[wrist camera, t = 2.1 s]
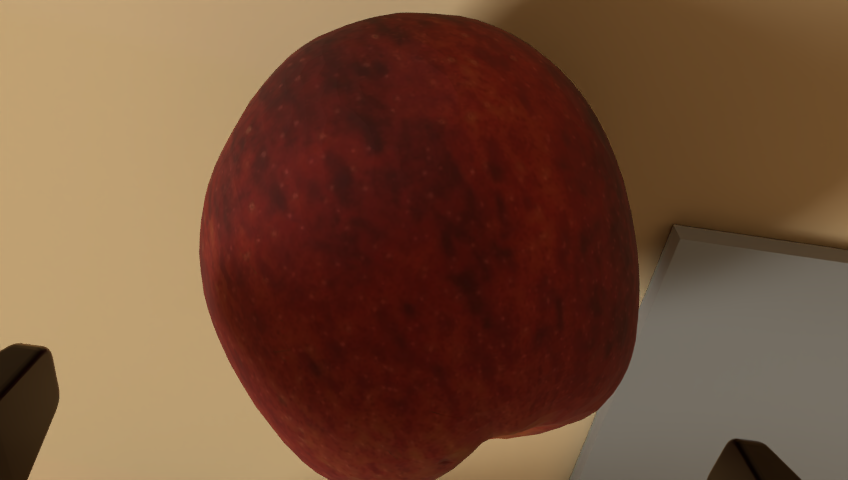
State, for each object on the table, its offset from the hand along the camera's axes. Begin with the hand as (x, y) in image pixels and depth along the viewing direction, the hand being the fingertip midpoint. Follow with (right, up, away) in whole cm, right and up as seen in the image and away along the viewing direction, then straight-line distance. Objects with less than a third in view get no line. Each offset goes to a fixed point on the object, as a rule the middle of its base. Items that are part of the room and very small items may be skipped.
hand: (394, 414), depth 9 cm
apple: (0, +4, +6) cm, 8 cm away
